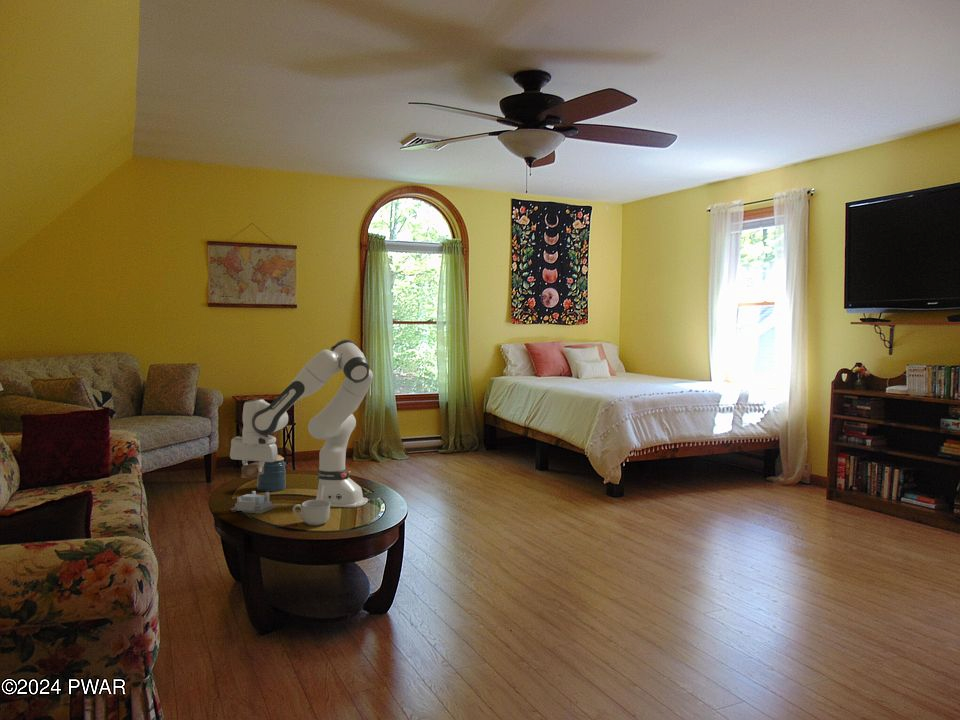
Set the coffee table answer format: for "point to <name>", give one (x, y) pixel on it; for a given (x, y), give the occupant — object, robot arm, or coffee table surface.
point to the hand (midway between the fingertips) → (253, 471)
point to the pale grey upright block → (258, 498)
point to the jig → (253, 505)
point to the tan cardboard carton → (251, 470)
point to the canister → (273, 476)
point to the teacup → (314, 511)
